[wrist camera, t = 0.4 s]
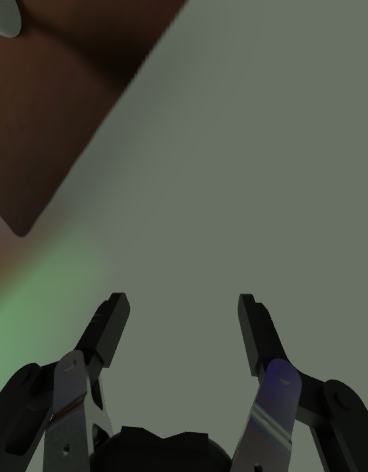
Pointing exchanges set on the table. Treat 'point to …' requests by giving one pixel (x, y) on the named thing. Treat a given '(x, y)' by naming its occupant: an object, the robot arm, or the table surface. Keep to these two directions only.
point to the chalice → (9, 18)
